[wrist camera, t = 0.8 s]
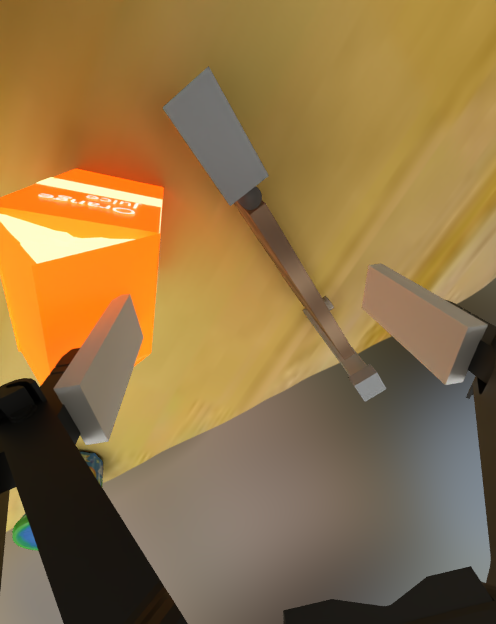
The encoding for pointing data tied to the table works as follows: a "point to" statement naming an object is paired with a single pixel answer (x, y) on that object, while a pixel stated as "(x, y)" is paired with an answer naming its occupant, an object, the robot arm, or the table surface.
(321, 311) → the gate
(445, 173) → the table surface
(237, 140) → the grey rectangular posts
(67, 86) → the table surface
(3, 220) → the orange juice
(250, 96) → the table surface
